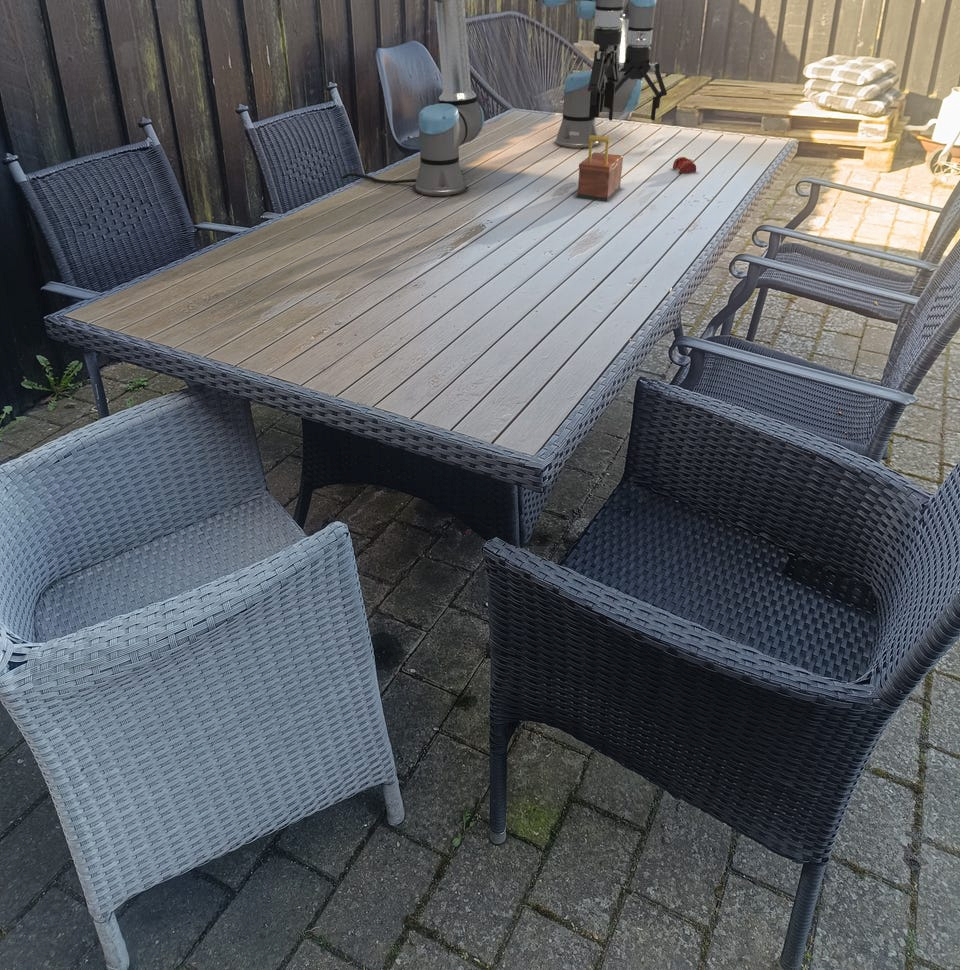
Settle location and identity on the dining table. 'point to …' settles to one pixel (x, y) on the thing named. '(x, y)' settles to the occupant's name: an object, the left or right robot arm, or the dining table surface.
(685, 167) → the dental model
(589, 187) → the chest
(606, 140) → the lid
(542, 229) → the dining table surface
